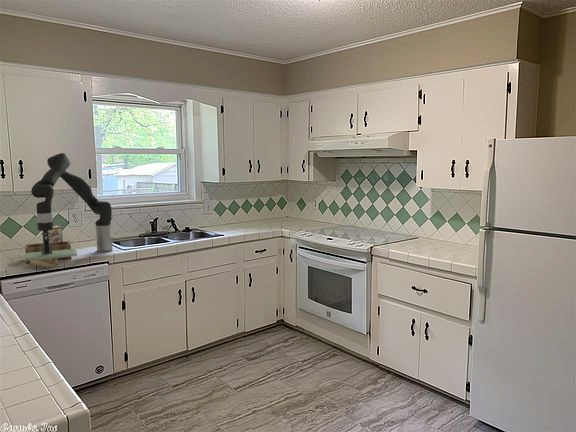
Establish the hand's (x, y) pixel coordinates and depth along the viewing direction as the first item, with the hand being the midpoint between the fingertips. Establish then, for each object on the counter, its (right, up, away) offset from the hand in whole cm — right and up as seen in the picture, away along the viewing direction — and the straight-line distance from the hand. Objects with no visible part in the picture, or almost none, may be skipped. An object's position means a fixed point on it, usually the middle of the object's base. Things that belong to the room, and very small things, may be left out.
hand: (47, 252), depth 247 cm
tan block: (-9, -9, +13) cm, 18 cm away
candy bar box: (-23, -4, +52) cm, 57 cm away
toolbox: (-14, -7, +29) cm, 33 cm away
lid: (+2, -2, +1) cm, 3 cm away
